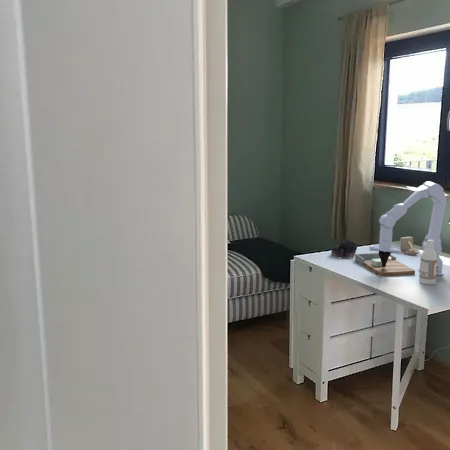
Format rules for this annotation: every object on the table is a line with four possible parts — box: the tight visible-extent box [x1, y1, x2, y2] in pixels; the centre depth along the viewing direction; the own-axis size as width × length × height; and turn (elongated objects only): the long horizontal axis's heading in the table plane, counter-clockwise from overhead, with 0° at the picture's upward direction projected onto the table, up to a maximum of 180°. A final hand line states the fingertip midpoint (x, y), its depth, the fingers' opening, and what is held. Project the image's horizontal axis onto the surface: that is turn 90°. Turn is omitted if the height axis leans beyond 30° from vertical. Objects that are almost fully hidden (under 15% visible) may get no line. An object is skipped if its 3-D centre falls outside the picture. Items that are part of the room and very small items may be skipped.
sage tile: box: [371, 259, 382, 267], centre depth 255 cm, size 5×5×2 cm
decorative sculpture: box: [399, 236, 419, 256], centre depth 286 cm, size 16×10×7 cm, turn 173°
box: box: [354, 252, 397, 266], centre depth 267 cm, size 10×18×4 cm, turn 101°
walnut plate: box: [362, 259, 416, 277], centre depth 253 cm, size 18×18×2 cm
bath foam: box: [418, 240, 437, 286], centre depth 233 cm, size 7×7×20 cm
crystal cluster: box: [330, 238, 358, 259], centre depth 279 cm, size 13×14×10 cm
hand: (383, 266), depth 250 cm, fingers closed
